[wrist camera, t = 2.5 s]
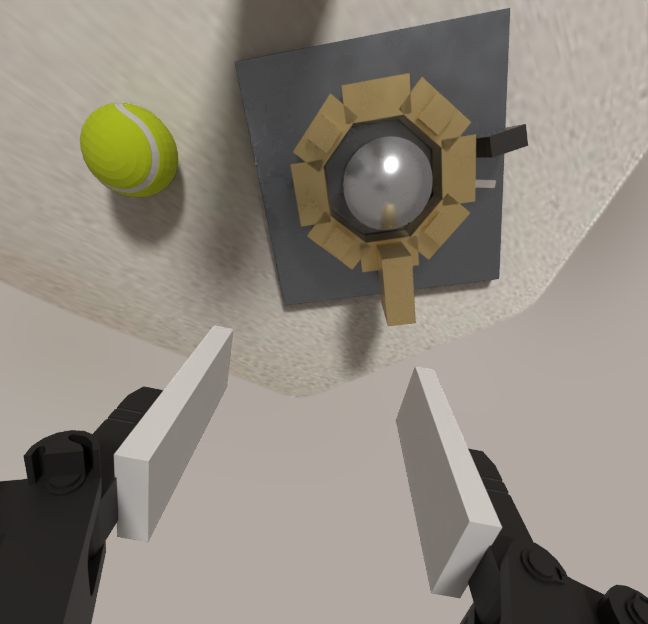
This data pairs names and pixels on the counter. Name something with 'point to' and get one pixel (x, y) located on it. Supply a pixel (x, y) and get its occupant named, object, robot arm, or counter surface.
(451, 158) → the ring nut
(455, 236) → the housing
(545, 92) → the counter surface
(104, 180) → the tennis ball
